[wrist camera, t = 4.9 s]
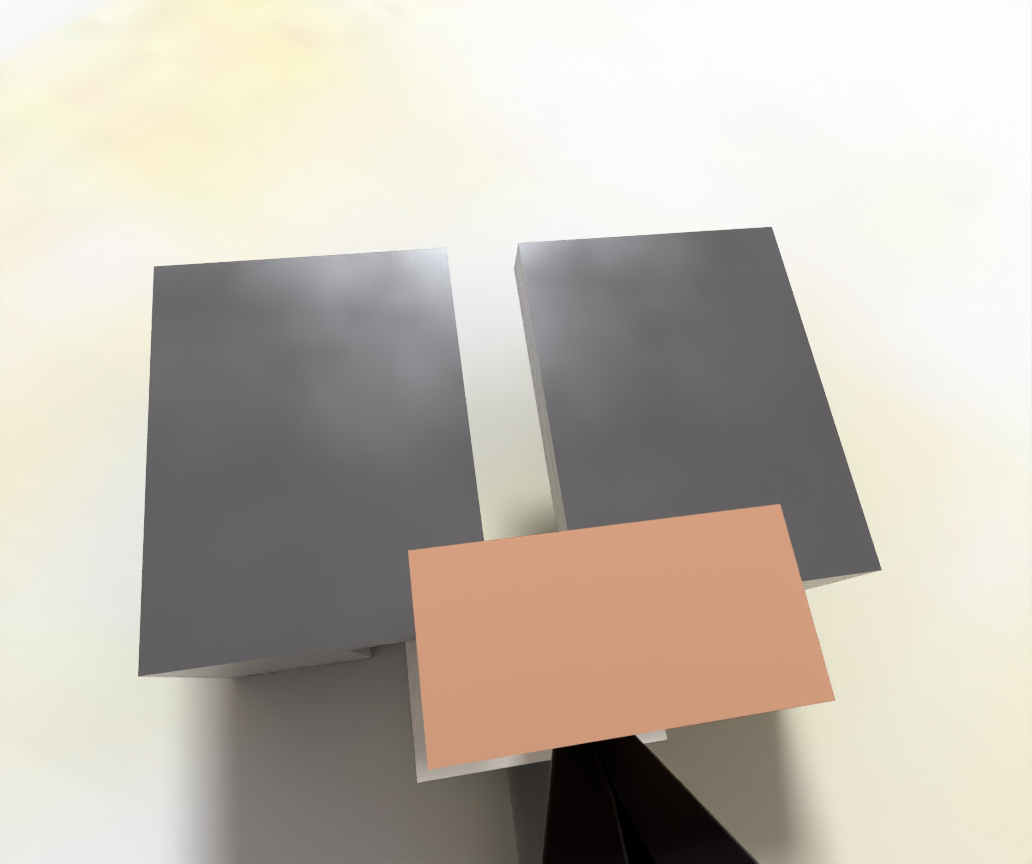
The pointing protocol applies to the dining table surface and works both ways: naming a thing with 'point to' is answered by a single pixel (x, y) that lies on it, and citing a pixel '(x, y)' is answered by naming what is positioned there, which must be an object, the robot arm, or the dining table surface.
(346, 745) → the dining table surface
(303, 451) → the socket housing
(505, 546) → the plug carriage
